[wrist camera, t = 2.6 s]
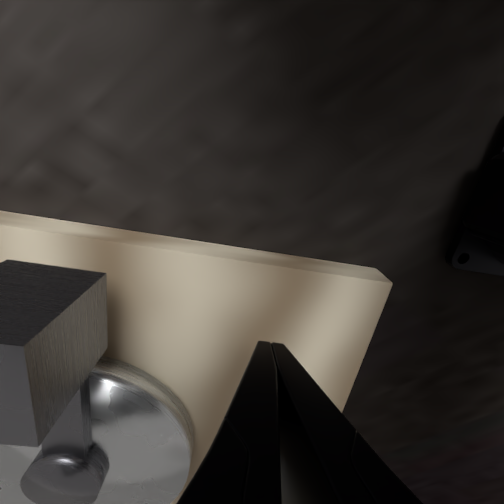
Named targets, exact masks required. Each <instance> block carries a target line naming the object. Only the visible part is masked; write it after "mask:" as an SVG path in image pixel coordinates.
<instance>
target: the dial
mask: <svg viewBox="0 0 504 504" xmlns="http://www.w3.org/2000/svg"><path fill="white" fill-rule="evenodd" d="M107 348H108V335H107V273H103V272H96V271H89V270H81V269H74V268H67V267H60V266H53V265H45V264H38V263H31V262H24V261H17V260H9V259H7V260H5V261H3V262H1V263H0V504H170V503H171V502H172V501H173V500H174V499H175V498H176V497H177V496H178V495H179V493H180V492H181V491H182V489H183V487H184V485H185V483H186V481H187V477H188V473H189V467H190V462H191V456H192V450H193V443H194V433H193V426H192V423H191V420H190V417H189V415H188V413H187V411H186V409H185V407H184V406H183V404H182V403H181V402H180V400H179V399H178V398H177V396H176V395H175V394H174V393H173V392H172V391H171V390H170V389H169V388H168V387H166V386H165V385H164V384H163V383H161V382H160V381H159V380H158V379H156V378H155V377H153V376H151V375H150V374H148V373H147V372H145V371H143V370H141V369H139V368H137V367H135V366H133V365H131V364H128V363H125V362H123V361H120V360H117V359H114V358H110V357H106V356H102V355H103V354H104V352H105V351H106V349H107Z"/></svg>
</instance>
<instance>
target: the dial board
mask: <svg viewBox="0 0 504 504" xmlns="http://www.w3.org/2000/svg"><path fill="white" fill-rule="evenodd" d="M7 259H9V260H17V261H24V262H31V263H38V264H45V265H53V266H60V267H67V268H74V269H81V270H89V271H96V272H103V273H107V335H108V348H107V349H106V351H105V352H104V354H103V355H102V356H106V357H110V358H114V359H117V360H120V361H123V362H125V363H128V364H131V365H133V366H135V367H137V368H139V369H141V370H143V371H145V372H147V373H148V374H150V375H151V376H153V377H155V378H156V379H158V380H159V381H160V382H161V383H163V384H164V385H165V386H166V387H168V388H169V389H170V390H171V391H172V392H173V393H174V394H175V395H176V396H177V398H178V399H179V400H180V402H181V403H182V404H183V406H184V407H185V409H186V411H187V413H188V415H189V417H190V420H191V423H192V426H193V433H194V443H193V450H192V456H191V462H190V467H189V473H188V477H187V481H186V483H185V485H184V487H183V489H182V491H181V492H180V493H179V495H178V496H177V497H176V498H175V499H174V500H173V501H172V502H171V503H170V504H176V503H177V502H178V500H179V498H180V497H181V495H182V494H183V492H184V490H185V489H186V487H187V486H188V484H189V482H190V481H191V479H192V477H193V476H194V474H195V473H196V471H197V469H198V467H199V466H200V464H201V462H202V460H203V459H204V457H205V455H206V453H207V452H208V450H209V448H210V446H211V444H212V442H213V440H214V438H215V436H216V434H217V432H218V429H219V427H220V425H221V423H222V420H223V419H224V416H225V414H226V412H227V409H228V407H229V405H230V403H231V400H232V398H233V396H234V394H235V391H236V389H237V387H238V385H239V382H240V380H241V378H242V376H243V373H244V371H245V369H246V367H247V364H248V362H249V360H250V358H251V355H252V353H253V351H254V349H255V346H256V344H257V342H258V341H268V342H270V343H272V342H276V343H283V344H284V345H285V346H286V347H287V348H288V349H289V351H290V352H291V353H292V354H293V355H294V357H295V358H296V359H297V360H298V361H299V362H300V364H301V365H302V366H303V367H304V368H305V370H306V371H307V372H308V373H309V374H310V376H311V377H312V378H313V379H314V380H315V382H316V383H317V384H318V385H319V386H320V388H321V389H322V390H323V391H324V392H325V394H326V395H327V396H328V397H329V398H330V399H331V401H332V402H333V403H334V404H335V405H336V407H337V408H338V409H339V410H340V411H341V413H342V411H343V409H344V406H345V404H346V401H347V399H348V396H349V394H350V391H351V389H352V386H353V383H354V381H355V378H356V376H357V373H358V371H359V368H360V366H361V363H362V361H363V358H364V356H365V353H366V351H367V348H368V346H369V343H370V340H371V338H372V335H373V333H374V330H375V328H376V325H377V323H378V320H379V318H380V315H381V313H382V310H383V308H384V305H385V302H386V300H387V297H388V295H389V292H390V290H391V287H392V285H393V283H392V282H391V281H390V280H389V279H388V278H386V277H385V276H384V275H383V274H382V273H381V272H380V271H379V270H377V269H376V268H371V267H365V266H358V265H352V264H345V263H339V262H332V261H326V260H319V259H313V258H306V257H299V256H293V255H286V254H280V253H273V252H267V251H260V250H254V249H247V248H241V247H234V246H228V245H221V244H214V243H208V242H201V241H195V240H188V239H182V238H175V237H169V236H162V235H156V234H149V233H143V232H136V231H130V230H123V229H116V228H110V227H103V226H97V225H90V224H84V223H77V222H71V221H64V220H58V219H51V218H45V217H38V216H31V215H25V214H18V213H12V212H5V211H0V263H1V262H3V261H5V260H7Z"/></svg>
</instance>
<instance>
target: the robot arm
mask: <svg viewBox="0 0 504 504" xmlns="http://www.w3.org/2000/svg"><path fill="white" fill-rule="evenodd" d="M461 254H462V257H461V258H460V259H458V257H459V256H460V255H461ZM445 259H446V262H447V263H448V264H449V265H451V266H453V267H455V268H457V269H461V270H468V271H474V272H481V273H487V274H493V275H500V276H504V127H503V129H502V131H501V133H500V136H499V138H498V140H497V142H496V144H495V147H494V149H493V151H492V153H491V155H490V158H489V160H488V162H487V164H486V167H485V169H484V171H483V173H482V175H481V178H480V180H479V182H478V184H477V186H476V189H475V191H474V193H473V195H472V198H471V200H470V202H469V204H468V206H467V209H466V211H465V213H464V215H463V217H462V220H461V222H460V224H459V226H458V229H457V231H456V233H455V235H454V237H453V240H452V242H451V244H450V246H449V248H448V251H447V253H446V256H445ZM355 431H356V430H355V428H354V427H353V426H352V425H351V423H350V422H349V421H348V420H347V419H346V417H345V416H344V415H343V414H342V413H341V411H340V410H339V409H338V408H337V407H336V405H335V404H334V403H333V402H332V401H331V399H330V398H329V397H328V396H327V395H326V394H325V392H324V391H323V390H322V389H321V388H320V386H319V385H318V384H317V383H316V382H315V380H314V379H313V378H312V377H311V376H310V374H309V373H308V372H307V371H306V370H305V368H304V367H303V366H302V365H301V364H300V362H299V361H298V360H297V359H296V358H295V357H294V355H293V354H292V353H291V352H290V351H289V349H288V348H287V347H286V346H285V345H284V344H283V343H276V342H272V343H270V342H268V341H258V342H257V344H256V346H255V349H254V351H253V353H252V355H251V358H250V360H249V362H248V364H247V367H246V369H245V371H244V373H243V376H242V378H241V380H240V382H239V385H238V387H237V389H236V391H235V394H234V396H233V398H232V400H231V403H230V405H229V407H228V409H227V412H226V414H225V416H224V419H223V420H222V423H221V425H220V427H219V429H218V432H217V434H216V436H215V438H214V440H213V442H212V444H211V446H210V448H209V450H208V452H207V453H206V455H205V457H204V459H203V460H202V462H201V464H200V466H199V467H198V469H197V471H196V473H195V474H194V476H193V477H192V479H191V481H190V482H189V484H188V486H187V487H186V489H185V490H184V492H183V494H182V495H181V497H180V498H179V500H178V502H177V503H176V504H423V503H422V502H421V501H420V500H419V499H418V498H417V497H416V496H415V495H414V494H413V493H412V492H411V491H410V490H409V489H408V488H407V487H406V485H405V484H404V483H403V482H402V481H401V480H400V479H399V478H398V477H397V476H396V475H395V474H394V473H393V472H392V471H391V469H390V468H389V467H388V466H387V465H386V464H385V463H384V462H383V461H382V460H381V458H380V457H379V456H378V455H377V454H376V453H375V452H374V450H373V449H372V448H371V447H370V446H369V445H368V443H367V442H366V441H365V440H364V439H363V438H362V436H361V435H360V434H359V433H358V432H355Z"/></svg>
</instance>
